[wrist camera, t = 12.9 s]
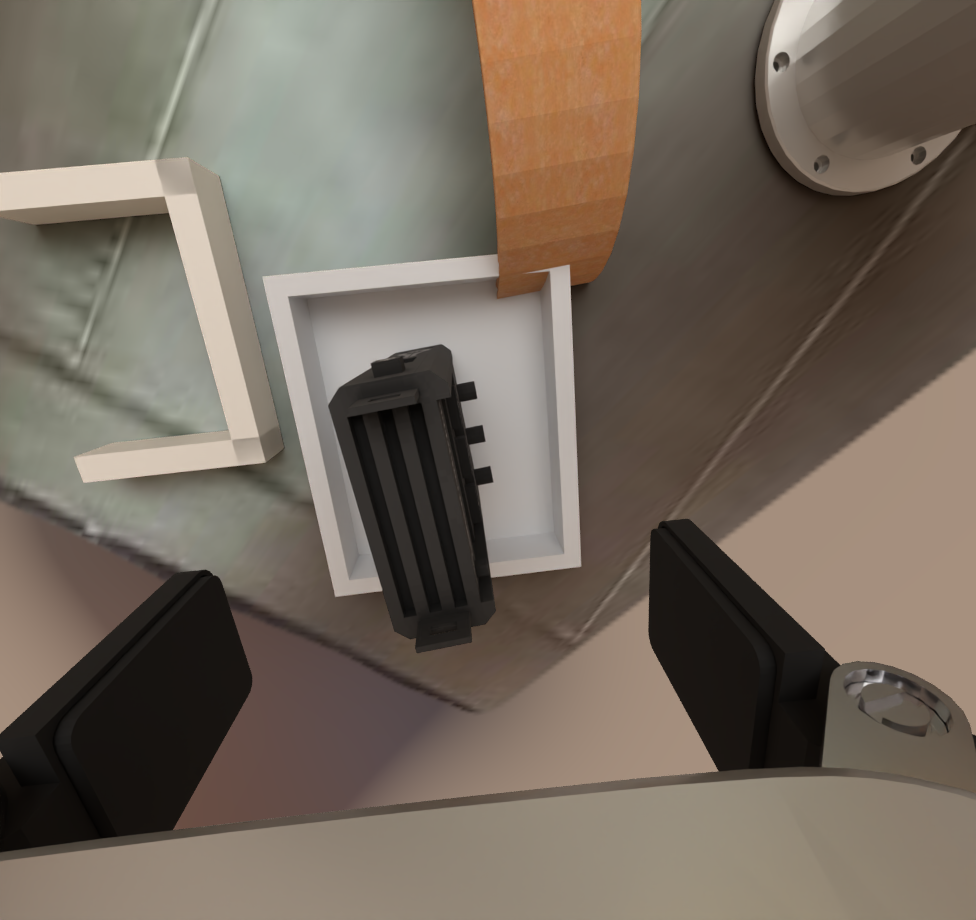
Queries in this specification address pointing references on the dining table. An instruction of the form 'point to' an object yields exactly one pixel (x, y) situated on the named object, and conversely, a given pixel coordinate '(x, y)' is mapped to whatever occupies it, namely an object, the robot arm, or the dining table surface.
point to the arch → (558, 131)
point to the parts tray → (476, 357)
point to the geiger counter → (419, 493)
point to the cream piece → (214, 293)
